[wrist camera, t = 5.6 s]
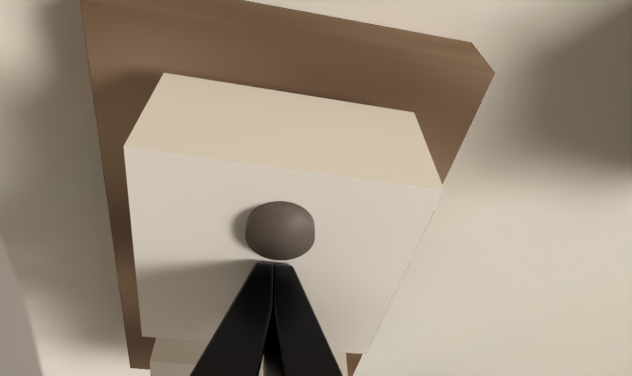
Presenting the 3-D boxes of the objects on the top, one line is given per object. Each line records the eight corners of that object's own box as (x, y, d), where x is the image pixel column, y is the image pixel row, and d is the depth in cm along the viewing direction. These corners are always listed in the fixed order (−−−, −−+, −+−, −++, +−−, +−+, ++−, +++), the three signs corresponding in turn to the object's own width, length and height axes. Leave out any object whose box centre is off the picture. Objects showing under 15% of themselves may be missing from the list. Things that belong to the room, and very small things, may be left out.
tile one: (311, 378, 20) (312, 460, 17) (173, 369, 19) (154, 453, 17) (340, 296, 16) (348, 385, 14) (172, 280, 15) (146, 371, 13)
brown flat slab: (345, 345, 23) (349, 383, 21) (142, 328, 21) (130, 367, 20) (471, 42, 13) (494, 72, 11) (109, -25, 12) (80, -1, 10)
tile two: (355, 270, 15) (367, 364, 12) (168, 250, 14) (138, 346, 11) (414, 112, 11) (448, 199, 8) (163, 72, 10) (118, 156, 8)
